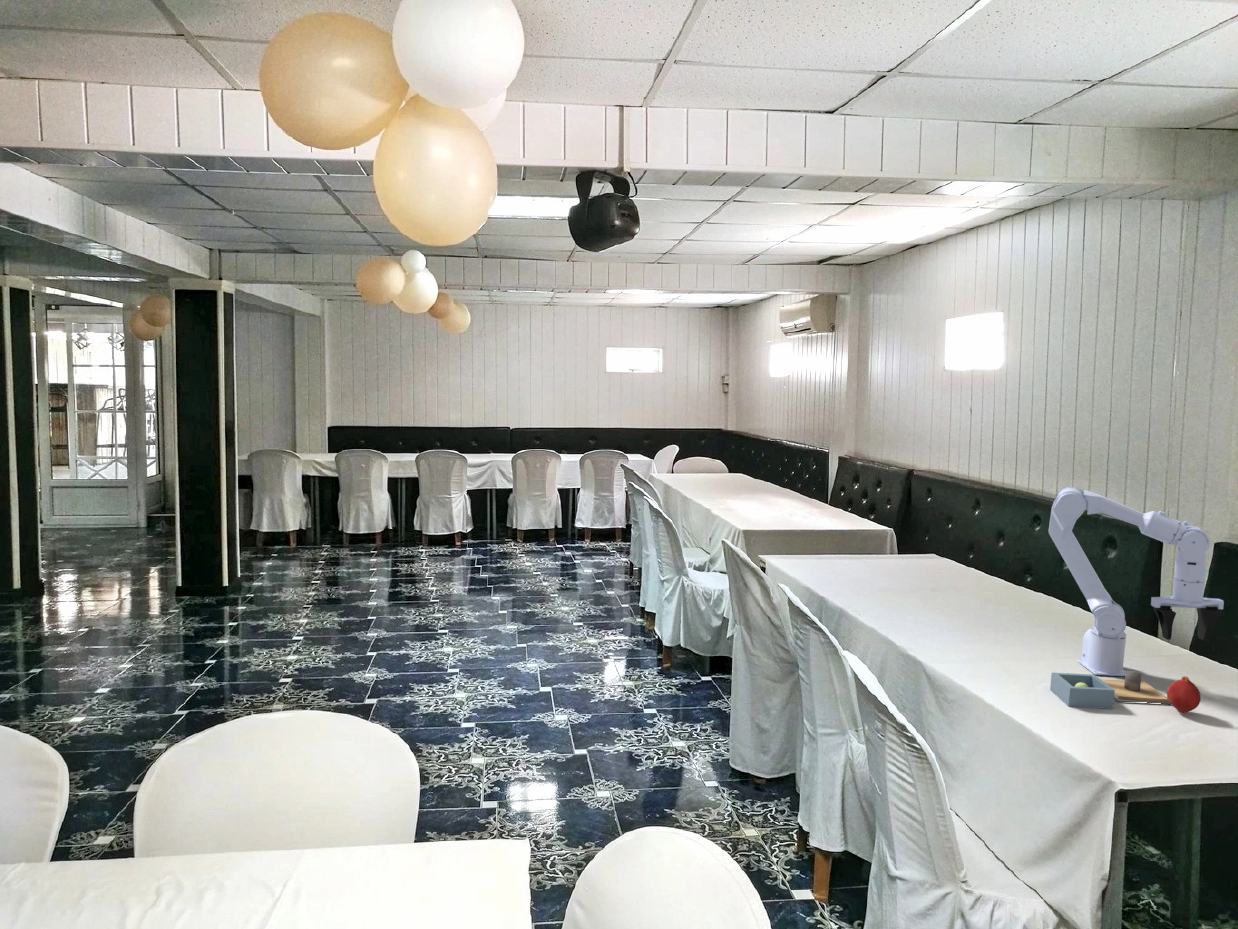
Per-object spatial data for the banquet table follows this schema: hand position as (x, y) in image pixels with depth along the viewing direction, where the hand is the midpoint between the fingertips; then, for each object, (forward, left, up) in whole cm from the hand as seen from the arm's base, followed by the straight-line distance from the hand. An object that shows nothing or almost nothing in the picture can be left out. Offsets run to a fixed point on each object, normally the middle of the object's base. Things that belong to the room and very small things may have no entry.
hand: (1184, 638), depth 192 cm
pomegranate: (+18, -9, -11) cm, 23 cm away
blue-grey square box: (+13, -27, -10) cm, 32 cm away
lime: (+13, -27, -8) cm, 31 cm away
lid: (+8, -14, -10) cm, 19 cm away
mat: (+8, -14, -10) cm, 19 cm away
